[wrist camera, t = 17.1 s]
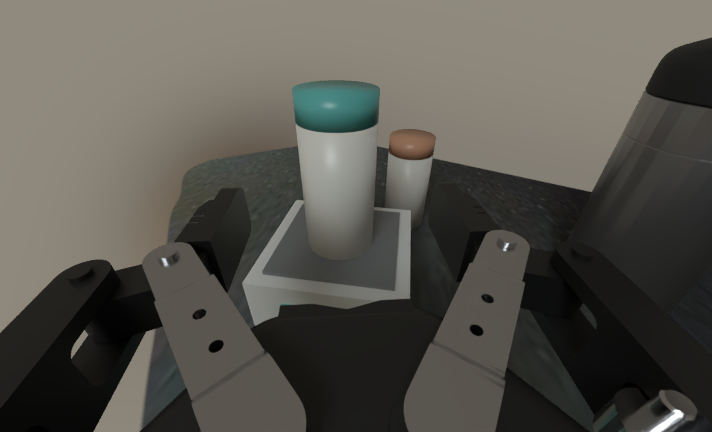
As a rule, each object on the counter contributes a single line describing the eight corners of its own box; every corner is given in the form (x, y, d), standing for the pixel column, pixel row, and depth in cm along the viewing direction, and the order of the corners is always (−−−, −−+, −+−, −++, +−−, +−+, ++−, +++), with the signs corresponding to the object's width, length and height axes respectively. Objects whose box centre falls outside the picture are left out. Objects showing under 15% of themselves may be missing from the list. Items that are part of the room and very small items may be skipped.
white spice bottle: (393, 204, 41) (400, 126, 35) (427, 214, 39) (441, 133, 33) (377, 222, 38) (382, 138, 32) (413, 234, 36) (426, 147, 29)
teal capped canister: (353, 214, 26) (354, 78, 20) (384, 247, 22) (397, 92, 16) (299, 230, 24) (280, 84, 18) (323, 269, 20) (311, 101, 14)
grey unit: (303, 254, 32) (296, 197, 28) (403, 266, 31) (411, 207, 27) (259, 348, 23) (238, 283, 19) (399, 371, 22) (410, 306, 18)
